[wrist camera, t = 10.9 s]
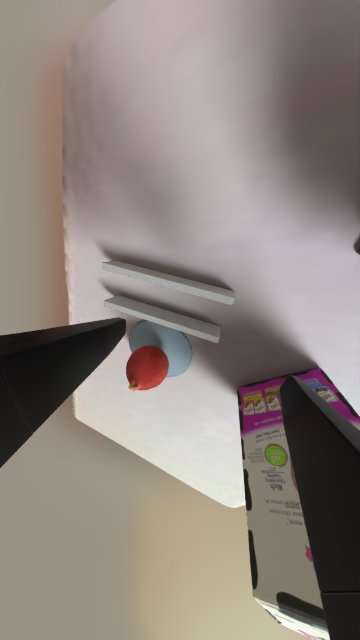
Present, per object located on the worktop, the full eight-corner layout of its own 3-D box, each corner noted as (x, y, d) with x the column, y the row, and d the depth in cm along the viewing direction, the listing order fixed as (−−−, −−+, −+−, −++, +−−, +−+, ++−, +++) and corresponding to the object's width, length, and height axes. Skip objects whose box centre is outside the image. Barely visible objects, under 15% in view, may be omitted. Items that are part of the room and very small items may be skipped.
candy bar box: (251, 408, 24) (281, 629, 10) (236, 386, 23) (246, 596, 9) (336, 394, 19) (641, 802, 5) (321, 365, 18) (643, 766, 4)
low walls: (234, 291, 18) (235, 298, 15) (219, 331, 20) (217, 343, 18) (117, 260, 20) (101, 262, 18) (118, 299, 23) (104, 306, 21)
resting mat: (199, 332, 21) (199, 334, 21) (184, 383, 26) (183, 385, 26) (132, 310, 23) (130, 311, 23) (130, 362, 28) (128, 363, 28)
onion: (173, 369, 25) (151, 414, 18) (142, 358, 26) (111, 397, 19) (178, 341, 22) (155, 382, 16) (144, 331, 24) (108, 364, 17)
